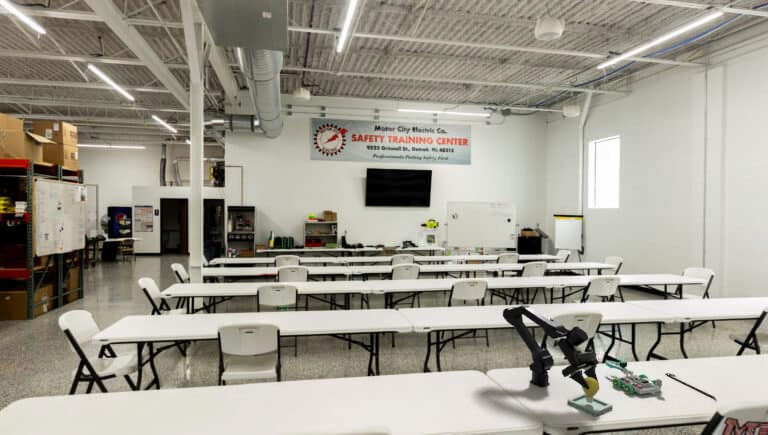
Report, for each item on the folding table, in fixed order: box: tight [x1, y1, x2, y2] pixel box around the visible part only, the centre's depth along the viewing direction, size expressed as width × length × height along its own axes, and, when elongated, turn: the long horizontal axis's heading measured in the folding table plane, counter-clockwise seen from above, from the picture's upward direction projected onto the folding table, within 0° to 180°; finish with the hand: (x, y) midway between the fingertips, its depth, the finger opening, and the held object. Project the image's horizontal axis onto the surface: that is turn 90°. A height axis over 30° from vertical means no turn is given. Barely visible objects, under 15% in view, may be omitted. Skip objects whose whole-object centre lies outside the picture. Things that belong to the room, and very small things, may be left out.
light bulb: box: [580, 376, 600, 403], centre depth 167 cm, size 7×7×10 cm
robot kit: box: [604, 360, 663, 395], centre depth 190 cm, size 19×25×9 cm
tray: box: [567, 392, 613, 417], centre depth 167 cm, size 12×12×2 cm
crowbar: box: [664, 372, 717, 401], centre depth 189 cm, size 28×1×5 cm
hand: (593, 387), depth 166 cm, fingers closed on light bulb, 7 cm apart
